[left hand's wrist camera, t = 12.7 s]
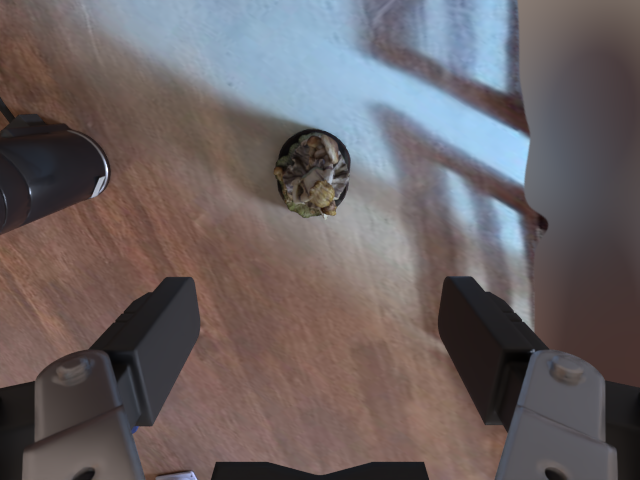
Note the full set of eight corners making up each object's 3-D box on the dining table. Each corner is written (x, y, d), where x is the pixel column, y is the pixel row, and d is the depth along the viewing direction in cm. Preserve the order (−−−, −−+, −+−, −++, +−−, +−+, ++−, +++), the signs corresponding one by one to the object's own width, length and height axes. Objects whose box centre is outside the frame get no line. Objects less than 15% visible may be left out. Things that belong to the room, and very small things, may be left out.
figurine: (298, 114, 45) (289, 119, 31) (369, 155, 47) (389, 178, 33) (259, 192, 49) (235, 227, 35) (326, 227, 51) (328, 274, 37)
